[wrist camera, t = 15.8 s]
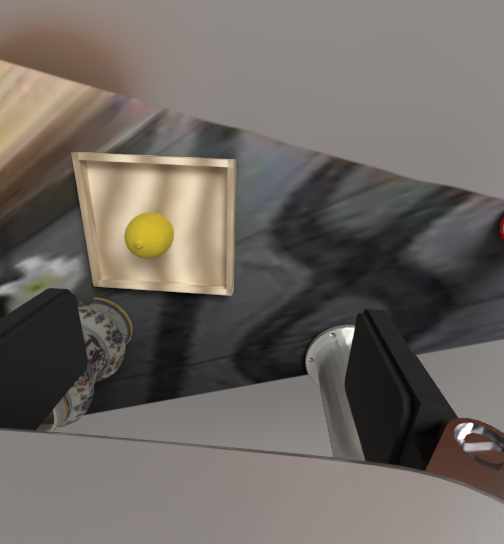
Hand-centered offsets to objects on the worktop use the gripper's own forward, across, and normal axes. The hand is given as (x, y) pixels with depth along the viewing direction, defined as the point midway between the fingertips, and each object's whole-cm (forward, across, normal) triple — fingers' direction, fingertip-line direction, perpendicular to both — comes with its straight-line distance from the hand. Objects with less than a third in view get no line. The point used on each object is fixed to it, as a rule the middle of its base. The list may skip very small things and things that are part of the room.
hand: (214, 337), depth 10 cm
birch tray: (+33, +13, +5) cm, 36 cm away
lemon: (+32, +13, +5) cm, 35 cm away
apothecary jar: (+34, +24, +22) cm, 47 cm away
